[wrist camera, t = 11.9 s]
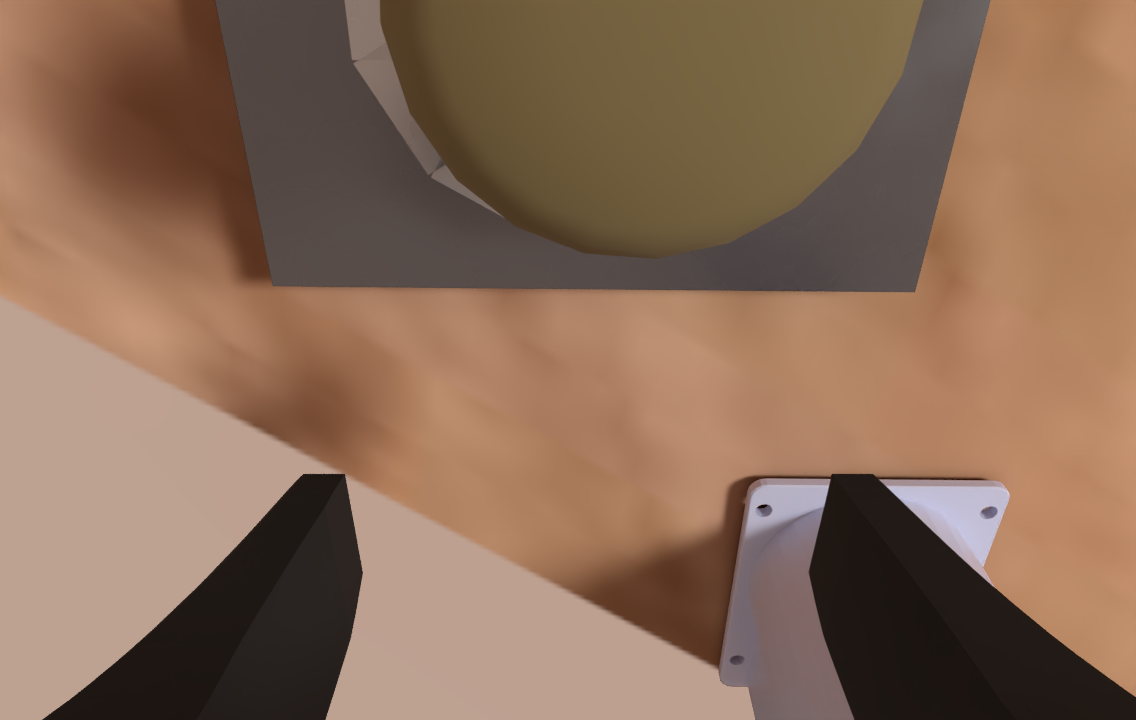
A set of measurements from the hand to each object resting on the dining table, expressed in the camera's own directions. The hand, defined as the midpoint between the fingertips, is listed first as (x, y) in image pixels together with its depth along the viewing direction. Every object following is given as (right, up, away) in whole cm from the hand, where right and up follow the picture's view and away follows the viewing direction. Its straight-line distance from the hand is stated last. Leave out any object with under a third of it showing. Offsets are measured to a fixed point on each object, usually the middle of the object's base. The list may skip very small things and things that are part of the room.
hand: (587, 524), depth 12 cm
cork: (+1, +11, +4) cm, 12 cm away
